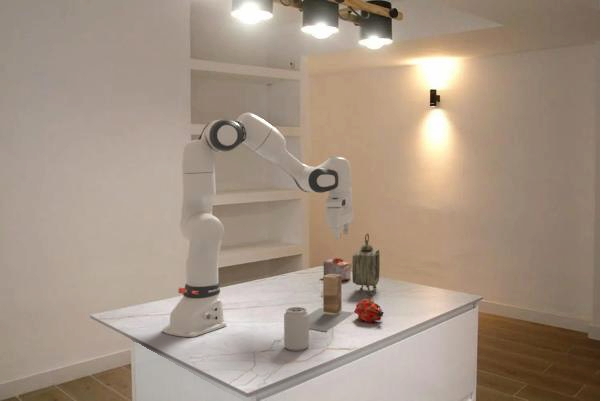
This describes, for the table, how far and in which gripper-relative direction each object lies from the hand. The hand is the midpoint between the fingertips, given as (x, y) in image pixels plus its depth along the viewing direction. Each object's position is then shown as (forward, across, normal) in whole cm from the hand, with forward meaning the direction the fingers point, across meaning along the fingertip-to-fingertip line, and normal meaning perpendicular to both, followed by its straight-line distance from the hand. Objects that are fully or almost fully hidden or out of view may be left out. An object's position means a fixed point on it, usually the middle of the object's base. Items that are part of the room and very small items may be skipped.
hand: (341, 236), depth 213 cm
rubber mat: (+27, +18, -2) cm, 33 cm away
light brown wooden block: (+27, +10, -1) cm, 29 cm away
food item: (+29, -44, -19) cm, 56 cm away
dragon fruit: (+28, +14, +14) cm, 34 cm away
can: (+26, +48, +1) cm, 54 cm away
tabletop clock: (+29, -26, +1) cm, 38 cm away
